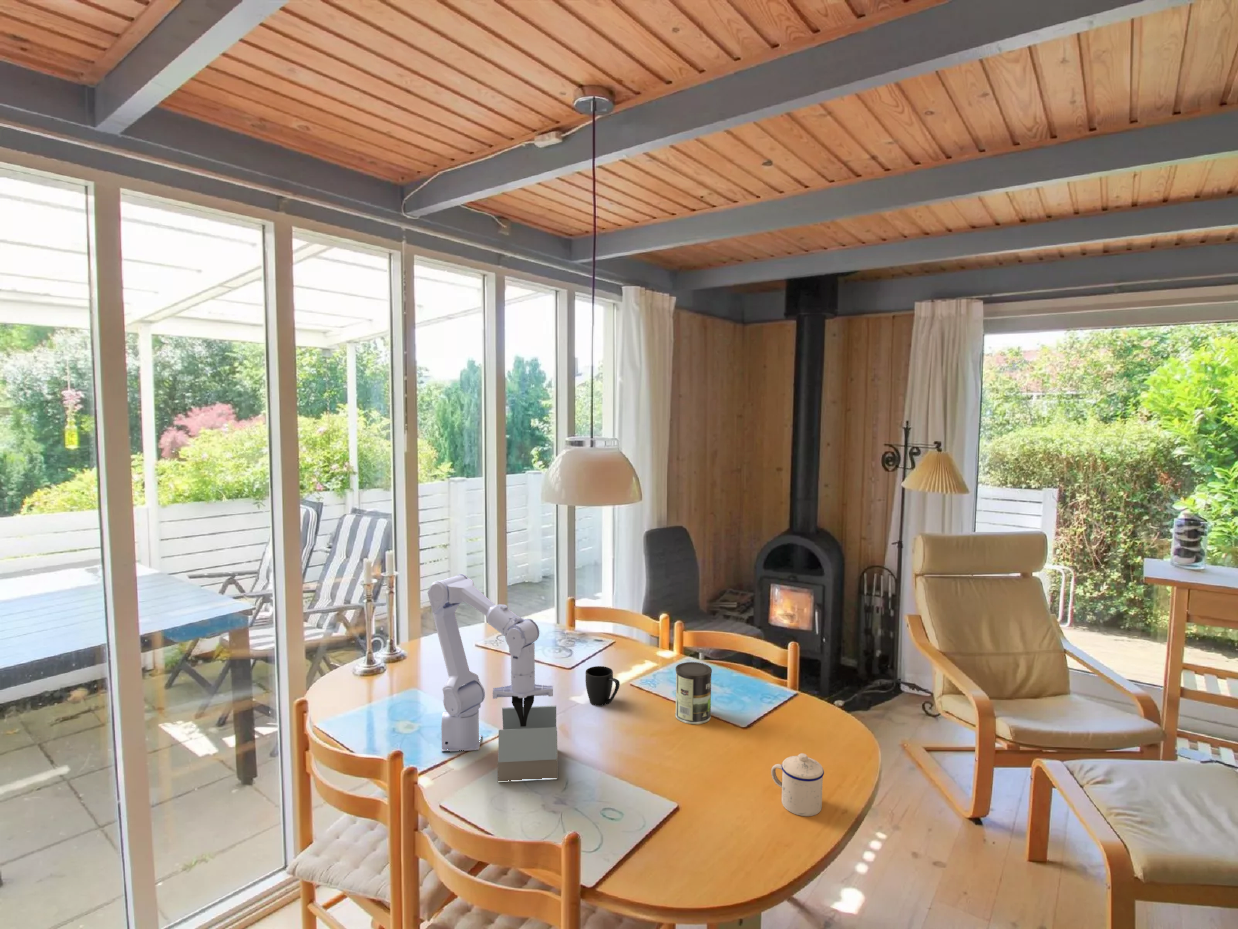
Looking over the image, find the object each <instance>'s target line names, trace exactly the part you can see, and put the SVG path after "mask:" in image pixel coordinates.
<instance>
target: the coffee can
mask: <svg viewBox="0 0 1238 929" xmlns="http://www.w3.org/2000/svg"><path fill="white" fill-rule="evenodd" d="M712 671H713V669H712V667H711V666H709V665H708V664H705V663H703V662H697V661H696V662H695V661H688V662H681V663H679V664H677V665H676V666H675V713H674V714H675V715H674V716H675V718H676V719H677V720H678V721H679V722H682V723H684V724H688V725H689V724H690V725H702V724H705V723H707V722H709V721H710V720H711V718H712V715H711V714H712V713H711V712H712V711H711V710H712V708H711V707H712V673H713V672H712Z"/></svg>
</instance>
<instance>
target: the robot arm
mask: <svg viewBox="0 0 1238 929" xmlns="http://www.w3.org/2000/svg"><path fill="white" fill-rule="evenodd" d="M427 596H428V600H429V604H430V609H431V614H432V617H433V621H434V624H435V628H436V633H437V636H438V641H439V644H440V648H441V653H442V655H443V661H444V664H445V668H446V672H447V676H448V678H447V680H446V681H445V683H444V685H443V687H442V693H443V700H442V701H443V706H444V710H445V711H443V712H442V714H441V715H442V716H441V726H440V727H441V728H440V730H441V749H440V750H441V751H440V752H442V751H450V752H466V751H467V752H469V751H471V752H472V751H478V750H480V747H481V742H482V738H481V739H480V740H479V737H483V735H482V736H481V735H480V736H479V734H480V722H479V721H480V720H479V719H480V716H479V714H480V713H479V712H480V709H481V705H482V704H481V703H483V702H484V700H485V698H486V691H485V688H484V686H483V684H482V683H481V681H480V678H479V675H478V674H476V673H474V672H472V671H470V667H469V663H468V660H467V657H466V653H465V648H464V644H463V640H462V637H461V634H460V633H461V632H460V630H459V626H458V622H457V617H456V611H457V609H458V608H459V606H460V605H461V604H462V603H465V604H467V606H470V607H472V608H473V609H475V610H476V611H478V612H479V613H480V614H482V615H484V616H485V617H486V621H487V623H488V625H490V626H491V627H492V628H493V629H494V630H496V631H497V632H499V633H500V634H501V635H502V636H504V638H505V642H506V644H507V646H508V652H509V654H510V681H511V682H510V685H504V686H501V687H493V688H492V699H493V700H494V699H495V700H496V699H498V698H511V704H512V707H514V708H515V710H516V712H517V714H518V717H519V721H520V727H525V726H526V723H527V718H528V714H529V711H530V709H531V707H532V706H533V704H534V702H535V697H537V696H539V697H541V696H543V697H544V696H548V697H554V685H546V684H545V685H544V684H537V683H536V678H535V676H536V674H535V670H536V665H535V663H536V662H535V660H536V659H535V657H536V656H535V651H536V650H535V642H537V641H538V639H539V637H540V628H539V625H537V623H536V622H535V621H534V620H533V619H532V618H524V617H521V616H520V615H518V614H516V613H515V612H513V611H512V610H511V609H509V606H508V605H506V604H502V603H501V604H500V603H499V604H495V603H494V602H493V601H492V600H490V599H489V598H488V597H487V596H486V595H485V594H484V593H483V592H482V591H480V590H479V589H478V588H477V587H476V586H475V584H474V580H473V579H471V578H469V577H468V576H467V575H466V574H464V573H459V574H457V575H453V576H451V577H448V578H444V579H441V580H435V581H433V582H431V585H430V586H429V589H428V590H427ZM523 707H524V716H523ZM479 741H481V742H479ZM447 749H448V750H447ZM459 750H460V751H459ZM461 750H462V751H461ZM463 750H464V751H463Z"/></svg>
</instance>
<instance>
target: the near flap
mask: <svg viewBox="0 0 1238 929" xmlns="http://www.w3.org/2000/svg"><path fill="white" fill-rule="evenodd" d="M497 745H498V748H497V749H498V750H497V752H498V755H497V758H498V759H497V763H498V762H511V761H532V760H552V759H557V754H558V728H557V726H556V727H552V728H529V729H506V730H503V729H498V744H497Z"/></svg>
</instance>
